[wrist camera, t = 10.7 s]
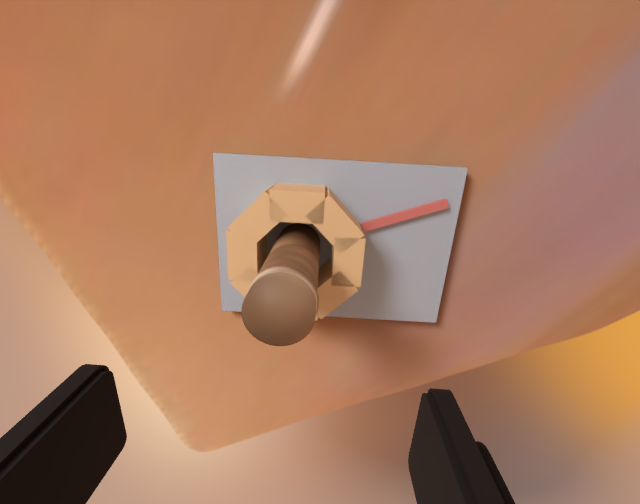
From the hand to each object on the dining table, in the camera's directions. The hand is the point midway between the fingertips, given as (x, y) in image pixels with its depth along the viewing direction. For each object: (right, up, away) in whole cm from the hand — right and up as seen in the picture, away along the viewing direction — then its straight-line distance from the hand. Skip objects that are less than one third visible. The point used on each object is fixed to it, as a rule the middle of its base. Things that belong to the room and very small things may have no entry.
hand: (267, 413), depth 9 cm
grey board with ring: (+3, +6, +18) cm, 19 cm away
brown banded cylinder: (0, +6, +17) cm, 18 cm away
